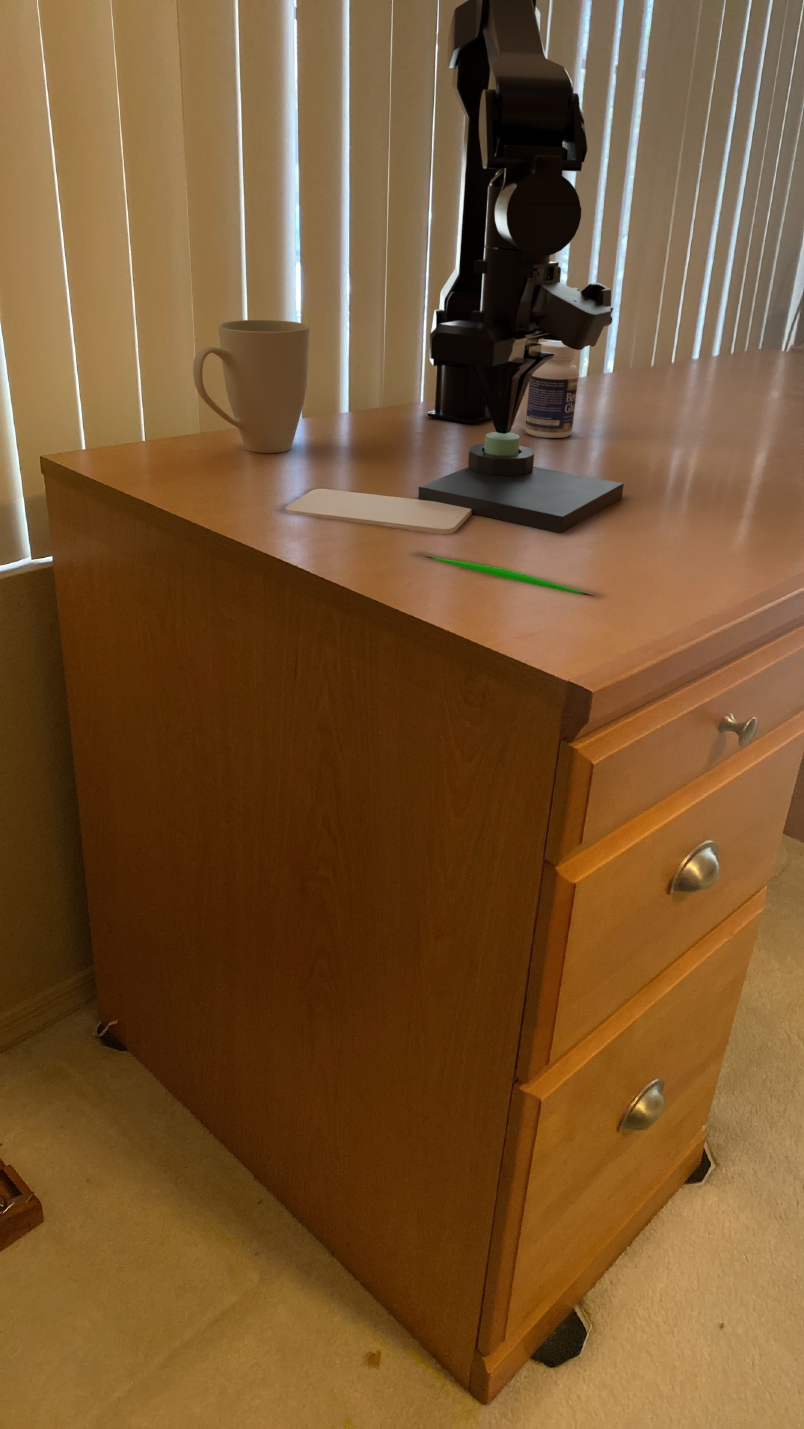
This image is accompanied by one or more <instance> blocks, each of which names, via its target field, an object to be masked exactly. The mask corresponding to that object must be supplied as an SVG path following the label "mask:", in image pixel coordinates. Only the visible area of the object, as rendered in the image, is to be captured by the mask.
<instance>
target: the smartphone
mask: <svg viewBox="0 0 804 1429" xmlns="http://www.w3.org/2000/svg"><path fill="white" fill-rule="evenodd" d="M285 511H286V513H289V514H292V515H300V516H307V517H313V518H320V519H321V518H322V519H328V520H329V519H331V520H335V521H337V520H338V521H343V522H351V523H358V524H365V525H373V526H378V527H379V526H381V527H385V528H393V529H400V530H401V529H402V530H409V531H416V532H424V533H432V534H438V535H450V534H454V533H456V531H457V530H458V529H459V528H460V527H461V526H462V525H463V524H464V523H465V522H466V521H467V520H468V519H469V518H470V517H471V515H473V514H472V513H471V512H472V509H469V508H464V507H459V506H454V505H449V504H444V503H439V502H434V501H426V500H418V499H417V498H407V497H399V496H390V495H382V494H373V493H366V492H363V493H362V492H355V491H346V490H338V489H330V488H314V489H312V490H310V491H309V492H307V493H305V494H304V495H302V496H300V497H299V498H298V499H296V500H294V501H292V502H291V503H290V504H288V505H287V506H286V507H285Z"/></svg>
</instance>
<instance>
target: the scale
mask: <svg viewBox="0 0 804 1429" xmlns="http://www.w3.org/2000/svg"><path fill="white" fill-rule="evenodd" d="M484 451H485V443H477V444H474V445H471V446H469V447H468V458H467V459H468V461H467V467H464V468H462V469H459V470H456V471H455V472H452V473H450V474H447V475H444V476H442V477H440V478H437V479H435V480H432V481H428V482H427V483H424V484H422V485H419V486H418V495H417V496H418V499H417V500H426V501H434V502H439V503H444V504H449V505H454V506H459V507H464V508H469V509H472V512H471V513H472V514H471V515H475V516H476V515H477V516H480V517H481V516H482V517H486V518H489V519H490V518H491V519H495V520H499V521H504V522H508V523H512V524H513V523H514V524H517V525H522V526H527V527H532V528H536V529H540V530H545V531H549V532H554V533H559V534H563V533H564V532H566V531H567V530H569V529H571V528H573V527H574V526H576V525H577V524H579V523H581V522H583V521H585V520H586V519H588V518H590V517H592V516H593V515H595V514H596V513H598V512H600V511H602V510H604V509H605V508H608V507H609V506H610V505H612V504H614V503H616V502H617V501H619V500H621V499H622V498H623V492H624V484H625V483H624V482H619V481H613V480H607V479H602V478H597V477H591V476H587V475H581V474H576V473H571V472H565V471H560V470H554V469H549V468H543V467H538V466H534V464H535V463H534V461H535V452H534V450H533V449H531V448H529V447H527V446H525V445H520V444H519V452H518V455H511V456H498V455H492V454H487V453H485V452H484Z"/></svg>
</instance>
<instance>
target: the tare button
mask: <svg viewBox="0 0 804 1429" xmlns="http://www.w3.org/2000/svg"><path fill="white" fill-rule="evenodd" d="M520 440H521V437H520V435H518V434H517V433H514V432H509V433H506V434H502V433H497V432H496V431H492V432H488V433H486V434H485V439H484V444H485V451H484V452H485V453H487V454H492V455H498V456H511V455H518V452H519V445H520Z"/></svg>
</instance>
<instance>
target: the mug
mask: <svg viewBox="0 0 804 1429" xmlns="http://www.w3.org/2000/svg"><path fill="white" fill-rule="evenodd" d="M217 329H218V338H219V346H220V347H217V346H205V347H201V348H200V349H199V350H198V351H197V352H196V354H195V356H194V358H193V363H192V364H193V365H192V375H193V381H194V385H195V388H196V391H197V392H198V395H199V396H200V398H201V399H202V400H203V401H204V402H205V404H206V405H207V406H208V407H209V408H210V409H211V410H213V411H214V412H215V413H216V414H217V415H218V416H219V417H221V418H222V419H224V420H225V421H226V422H227V423H229V424H230V425H232V426H234V427H236V428H237V429H238V431H239V434H240V437H241V440H242V443H243V446H244V448H245V449H246V450H247V451H249V452H253V453H260V454H273V453H274V454H277V453H283V452H288V451H289V450H291V449H292V447H293V443H294V441H295V436H296V433H297V429H298V426H299V422H300V419H301V415H302V411H303V407H304V402H305V399H306V393H307V382H308V371H309V370H308V368H309V365H308V364H309V346H310V325H308V324H305V323H302V322H297V321H291V320H290V321H289V320H280V319H279V320H278V319H241V320H240V319H239V320H233V321H232V320H231V321H225V322H224V321H223V322H220V323H219V324H218V325H217ZM209 354H214V355H216V356H217V357H218V358H220V360H221V361H222V371H223V377H224V386H225V391H226V396H227V400H228V402H229V406H230V409H231V412H232V414H233V418H232V417H231V416H229V415H228V413H226V412H225V411H224V410H223V409H222V408H221V407H219V405H217V404H216V402H215V401H214V400H212V398H211V397H210V396H209V394H208V393H207V390H206V388H205V385H204V380H203V370H204V362H205V359H206V358H207V357H208V355H209Z"/></svg>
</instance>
